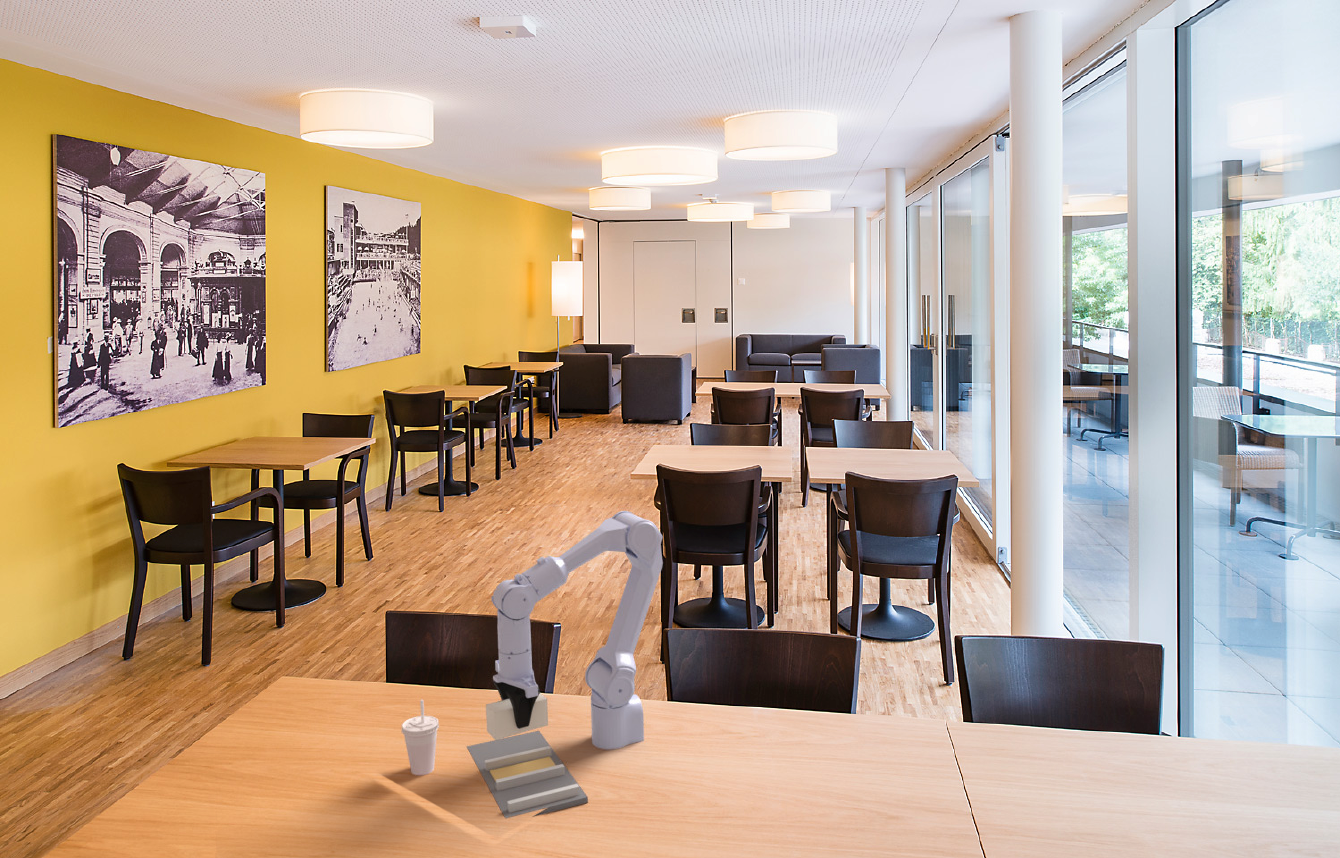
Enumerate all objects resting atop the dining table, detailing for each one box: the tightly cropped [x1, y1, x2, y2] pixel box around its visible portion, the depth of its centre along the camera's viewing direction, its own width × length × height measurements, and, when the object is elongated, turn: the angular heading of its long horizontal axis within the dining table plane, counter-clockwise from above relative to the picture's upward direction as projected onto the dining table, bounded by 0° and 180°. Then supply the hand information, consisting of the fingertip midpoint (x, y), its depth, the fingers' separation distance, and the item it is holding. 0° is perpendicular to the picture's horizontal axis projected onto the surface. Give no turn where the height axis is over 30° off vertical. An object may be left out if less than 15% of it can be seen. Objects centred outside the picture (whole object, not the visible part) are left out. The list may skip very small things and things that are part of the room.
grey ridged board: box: [466, 730, 589, 819], centre depth 161 cm, size 14×27×2 cm, turn 25°
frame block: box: [485, 692, 549, 740], centre depth 162 cm, size 10×4×5 cm, turn 122°
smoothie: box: [401, 699, 440, 776], centre depth 161 cm, size 6×6×14 cm
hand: (517, 721), depth 162 cm, fingers closed on frame block, 4 cm apart
